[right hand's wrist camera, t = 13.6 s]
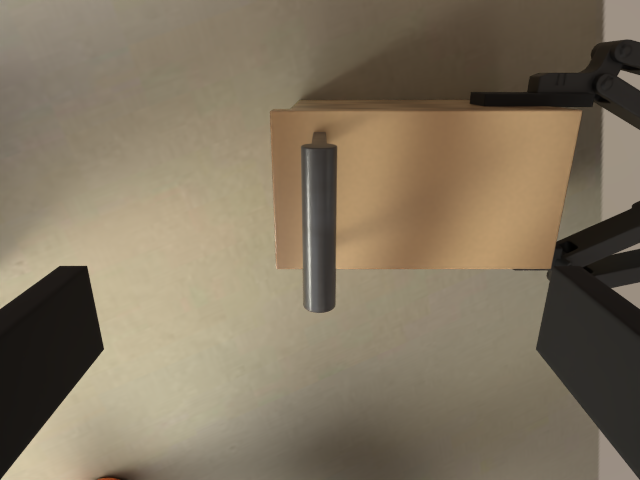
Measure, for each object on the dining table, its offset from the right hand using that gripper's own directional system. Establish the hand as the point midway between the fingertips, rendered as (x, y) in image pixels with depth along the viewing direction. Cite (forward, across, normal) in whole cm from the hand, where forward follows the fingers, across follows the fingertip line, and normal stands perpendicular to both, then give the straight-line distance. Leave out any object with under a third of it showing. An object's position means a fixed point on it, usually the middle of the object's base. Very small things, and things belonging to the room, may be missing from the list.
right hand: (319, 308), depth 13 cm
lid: (+14, -6, 0) cm, 15 cm away
